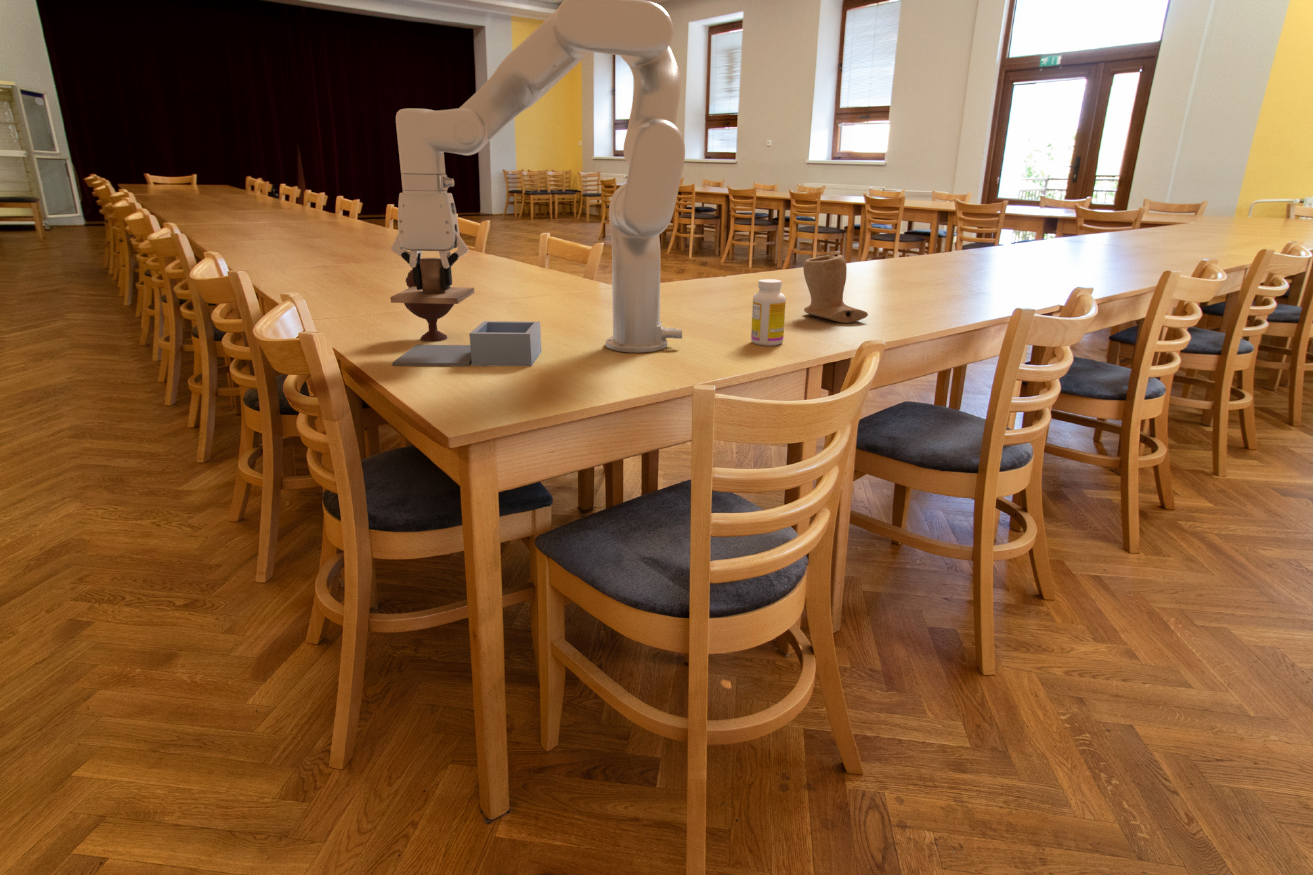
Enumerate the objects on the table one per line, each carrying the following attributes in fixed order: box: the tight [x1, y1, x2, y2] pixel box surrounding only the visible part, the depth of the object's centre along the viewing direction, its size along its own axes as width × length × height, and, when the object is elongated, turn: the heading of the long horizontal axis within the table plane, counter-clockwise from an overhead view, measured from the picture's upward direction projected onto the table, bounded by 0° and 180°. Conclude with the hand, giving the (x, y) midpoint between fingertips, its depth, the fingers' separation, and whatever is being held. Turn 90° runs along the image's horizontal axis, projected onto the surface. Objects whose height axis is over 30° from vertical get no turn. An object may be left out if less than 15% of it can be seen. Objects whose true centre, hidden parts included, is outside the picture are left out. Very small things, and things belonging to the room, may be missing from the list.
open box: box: [469, 320, 543, 367], centre depth 140 cm, size 11×11×6 cm
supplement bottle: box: [750, 278, 786, 347], centre depth 152 cm, size 7×7×13 cm
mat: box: [391, 344, 472, 367], centre depth 142 cm, size 14×14×1 cm
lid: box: [390, 257, 475, 305], centre depth 137 cm, size 12×12×7 cm
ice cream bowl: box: [403, 269, 455, 342], centre depth 154 cm, size 11×11×15 cm
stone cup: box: [803, 254, 869, 324], centre depth 176 cm, size 15×12×15 cm
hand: (433, 288), depth 137 cm, fingers closed on lid, 4 cm apart
